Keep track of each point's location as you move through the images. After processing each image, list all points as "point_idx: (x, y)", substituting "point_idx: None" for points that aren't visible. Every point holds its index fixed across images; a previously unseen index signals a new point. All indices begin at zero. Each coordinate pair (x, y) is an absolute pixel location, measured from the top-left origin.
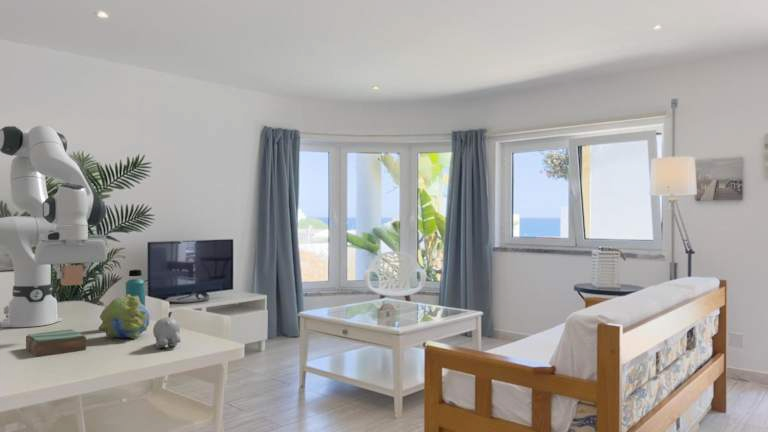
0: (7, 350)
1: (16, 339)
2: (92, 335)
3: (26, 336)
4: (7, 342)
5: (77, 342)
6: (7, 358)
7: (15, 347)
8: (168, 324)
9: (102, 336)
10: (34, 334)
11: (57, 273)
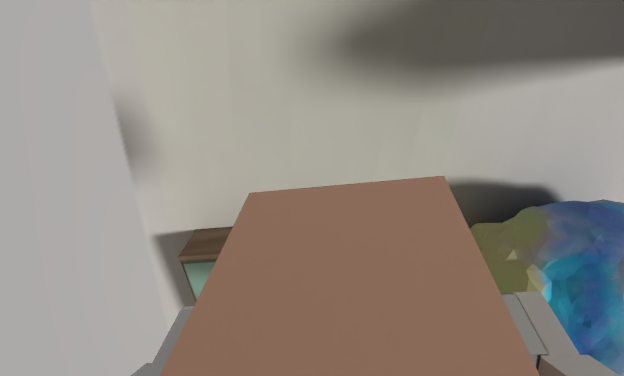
0: (145, 224)
1: (128, 5)
2: (438, 123)
3: (181, 261)
4: (107, 64)
5: None
6: (168, 321)
7: (160, 191)
8: None
9: (464, 174)
10: (205, 276)
11: (162, 367)
